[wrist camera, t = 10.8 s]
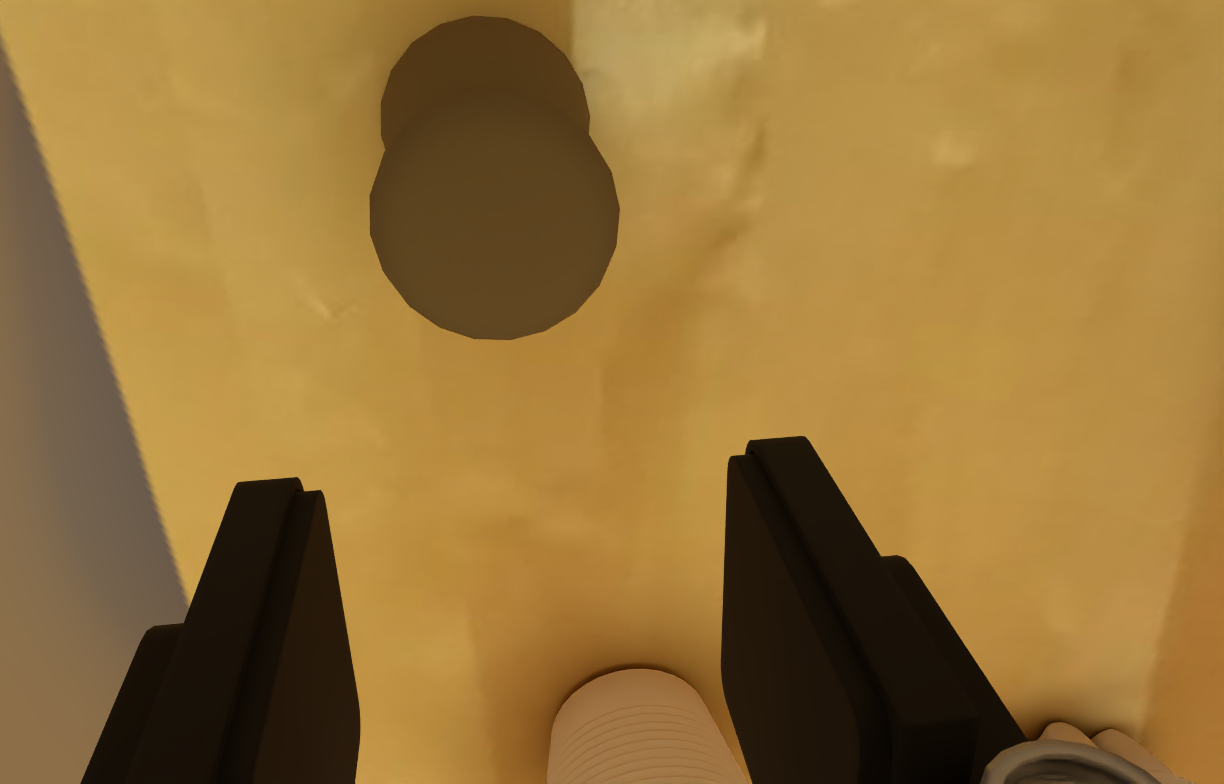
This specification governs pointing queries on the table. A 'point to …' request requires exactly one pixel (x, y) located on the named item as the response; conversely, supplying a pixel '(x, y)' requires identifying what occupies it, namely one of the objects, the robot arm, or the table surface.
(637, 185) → the table surface
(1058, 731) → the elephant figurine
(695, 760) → the cup
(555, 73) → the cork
